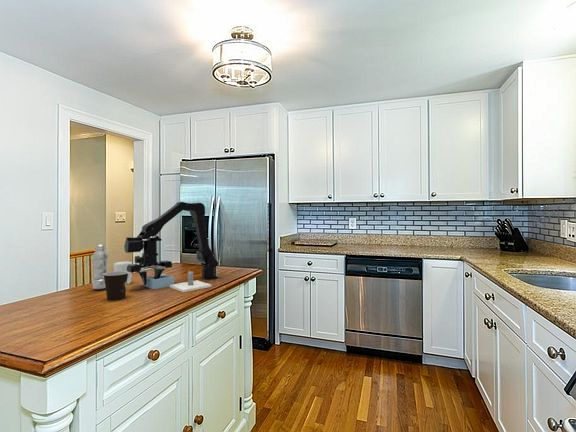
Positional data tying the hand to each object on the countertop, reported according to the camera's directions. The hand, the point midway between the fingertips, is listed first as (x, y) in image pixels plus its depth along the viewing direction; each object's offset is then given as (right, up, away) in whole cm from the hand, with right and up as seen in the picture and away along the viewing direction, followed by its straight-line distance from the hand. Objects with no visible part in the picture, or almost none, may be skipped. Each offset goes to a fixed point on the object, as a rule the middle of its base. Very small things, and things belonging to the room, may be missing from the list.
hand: (150, 284), depth 145 cm
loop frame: (+3, -1, +3) cm, 4 cm away
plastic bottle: (-20, -1, -4) cm, 21 cm away
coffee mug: (-5, -2, -17) cm, 18 cm away
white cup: (-16, -1, +7) cm, 18 cm away
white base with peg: (+18, -1, 0) cm, 18 cm away
